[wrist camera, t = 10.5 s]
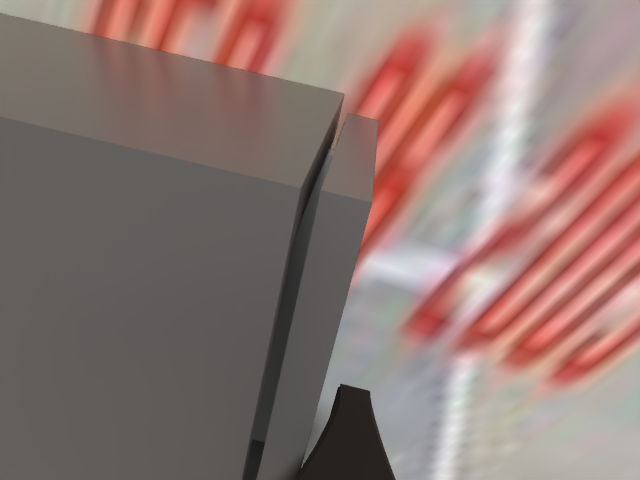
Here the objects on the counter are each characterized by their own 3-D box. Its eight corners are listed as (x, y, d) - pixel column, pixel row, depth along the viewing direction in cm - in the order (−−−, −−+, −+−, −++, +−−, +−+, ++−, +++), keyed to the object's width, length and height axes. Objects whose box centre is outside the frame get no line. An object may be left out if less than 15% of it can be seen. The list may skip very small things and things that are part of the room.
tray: (378, 120, 14) (372, 202, 8) (292, 457, 19) (253, 645, 13) (6, 33, 14) (-242, 56, 8) (22, 390, 19) (-126, 548, 13)
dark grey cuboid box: (344, 93, 14) (301, 188, 7) (264, 452, 19) (196, 701, 12) (-32, 5, 14) (-432, 13, 7) (-5, 385, 19) (-218, 595, 13)
